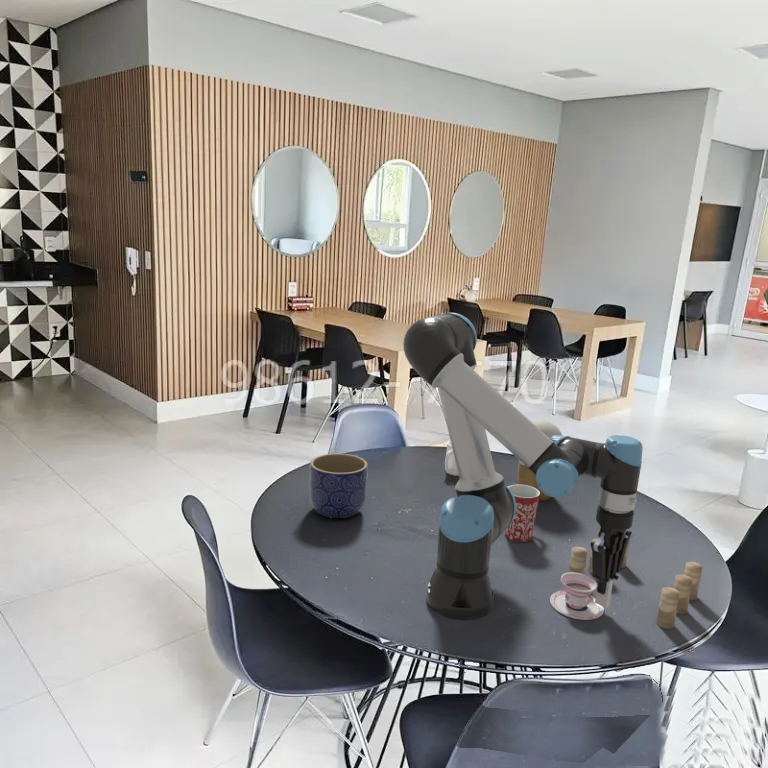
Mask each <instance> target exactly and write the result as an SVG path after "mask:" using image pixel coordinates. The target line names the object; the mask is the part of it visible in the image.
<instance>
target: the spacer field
mask: <svg viewBox="0 0 768 768" xmlns="http://www.w3.org/2000/svg"><path fill="white" fill-rule="evenodd" d="M598 539H599V538H594V539H592V540H591V542H592V541H594V542H596V541H597V540H598ZM630 540H631V538H630V539H629V541H628V544H627V548H626V551H625V555H624V559H623V563H622V566H621V569H623V568H626V567H627V562H628V561H627V560H628V553H629V547H630ZM587 556H588V550H587V549H586V548H584V547H581V546H573V547H571V553H570V562H569V570H568V572H576V573H581V574H584V575H585V571H586V565H587V563H586V562H587ZM588 572H589V573H591V574H592V575H593V568H592V549H591V548H590V555H589V563H588ZM702 572H703V565H701V564H700V563H698V562H697V561H687V562H685V566H684V570H683V574H681V573H680V574H679V573H678V574H676V575H675V577H674V582H673V587H669V586H665V587H662V588H661V592H660V597H659V603H658V604H659V605H658V610H657V616H656V622H657V623H656V625H658V627H660V628H661V629H662V628H663V629H665V630H672V629H674V627H675V625H676V624H675V622H676V616H677V615H687V613H688V609H689V603H690V601H696V600H697V599H698V594H699V588H700V582H701V577H702Z"/></svg>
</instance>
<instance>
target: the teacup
mask: <svg viewBox="0 0 768 768" xmlns="http://www.w3.org/2000/svg"><path fill="white" fill-rule="evenodd" d="M560 583H561V585H562V587H563V589H562V590H558V591H555V592H553V593H552V594H551V596H550V597H549V602H550V605H551V607H552V608H553V609H554V610H555V611H556V612H557V613H559V614H561V615H563V616H565V617H568V618H570V619H575V620H581V621H589V620H591V621H592V620H596V619H598V618H600V617H602V616H603V614H604V613H605V608H604V607H602V606H601V605H599V604H597V603H595V600H596V596H594V595H592V594H593V592H595V591H596V590H597V586H598V583H597V582H596V581H595V580H594V579H593V577H592V578H591V577H590V576H588V575H586V574H585V573H584V574H581V573H576V572H569V571H568V572H564V573H563V574H562V575H561V576H560ZM567 604H568V605H567ZM568 606H569V607H568ZM585 607H587V608H586V609H585V610H582V609H583V608H585ZM580 610H581V611H580Z"/></svg>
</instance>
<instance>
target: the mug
mask: <svg viewBox="0 0 768 768" xmlns="http://www.w3.org/2000/svg"><path fill="white" fill-rule="evenodd" d="M516 484H517V483H516ZM516 484H512V485H508V486H507V487H508V488H509V489H510V490H511V491H512V493H513V495H514V497H515V501H516V512H515V515H514V518H513V520H512V522H511V524H510V525H509V527H508V528H507V529H506V530H504V535H505V537H506V538H507V539H509V540H510V541H513V542H519V543H526V542H529V541H531V540H532V538H533V533H534V526H535V521H536V516H537V515H536V514H537V509H538V505H539V503H540V501H539V495H540V492H539V490H537V489H536V488H534V487H531V486H527V485H520V484H517V485H516Z"/></svg>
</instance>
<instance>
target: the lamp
mask: <svg viewBox="0 0 768 768" xmlns="http://www.w3.org/2000/svg"><path fill="white" fill-rule="evenodd" d="M530 421H531V422H532V423H533V424H534V425H535V426H536V427H537V428H539V429H540V430H541V431H542V432H543V433H544V434H545V435H546V436H548V437H549V438H551V437H552V436H554V435H559V436H563V434H562V432H561V430H560V428H559V427H558V426H557V425H555V424H554V423H553V422H551V421H550V420H549V421H548V420H545V419H534V420H530ZM516 475H517V476H516V484H515V485H517V484H520V485H527V486H531V487H534V488H536V489H537V490H539V492H540V495H539V502H540V501H546V500H550V499H551V498H552V497H551V496H548V495H546V494H544V493H543V492H542V491H541V490H540V489H539V487H538V485H537V482H536V475H535V474H534V473H533V472H532V471H531V470H530V469H529V468H528V467H527V466H525V465H524V464H523V463H522V462H521V461H520V460H519V459H518V465H517V474H516Z"/></svg>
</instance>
